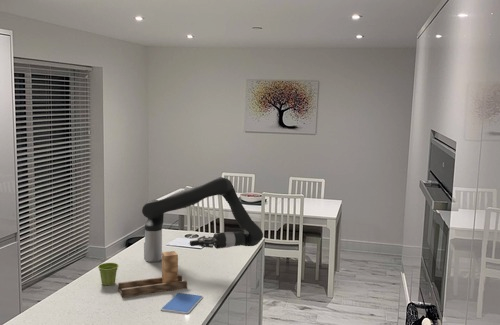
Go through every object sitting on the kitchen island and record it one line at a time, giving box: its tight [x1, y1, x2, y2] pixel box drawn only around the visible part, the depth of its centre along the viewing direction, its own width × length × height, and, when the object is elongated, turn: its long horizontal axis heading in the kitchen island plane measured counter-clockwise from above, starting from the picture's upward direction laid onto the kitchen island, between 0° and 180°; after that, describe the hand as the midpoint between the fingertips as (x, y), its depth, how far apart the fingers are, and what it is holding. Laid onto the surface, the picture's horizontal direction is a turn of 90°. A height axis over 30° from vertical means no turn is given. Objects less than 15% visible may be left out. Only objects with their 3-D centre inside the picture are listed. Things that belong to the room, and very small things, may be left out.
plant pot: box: [97, 262, 119, 286], centre depth 227 cm, size 9×9×9 cm
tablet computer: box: [160, 292, 204, 315], centre depth 206 cm, size 19×13×1 cm, turn 166°
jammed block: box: [161, 250, 179, 283], centre depth 224 cm, size 6×6×15 cm
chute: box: [117, 274, 188, 299], centre depth 221 cm, size 30×10×4 cm, turn 115°
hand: (190, 243), depth 226 cm, fingers closed
